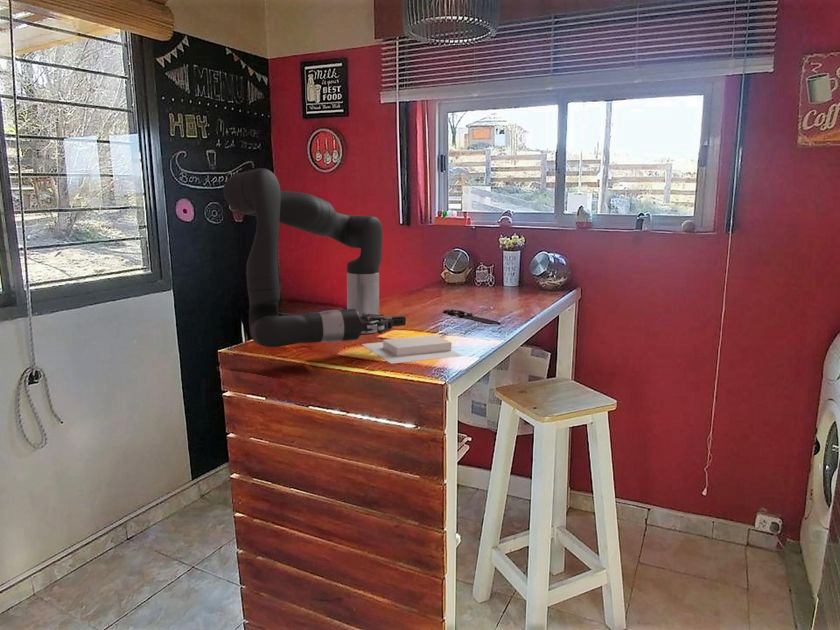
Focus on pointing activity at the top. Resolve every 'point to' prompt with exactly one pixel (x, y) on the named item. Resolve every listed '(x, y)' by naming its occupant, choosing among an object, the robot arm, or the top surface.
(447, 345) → the tile
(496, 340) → the top surface
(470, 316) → the knife
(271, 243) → the robot arm
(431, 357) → the mat
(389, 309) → the top surface
